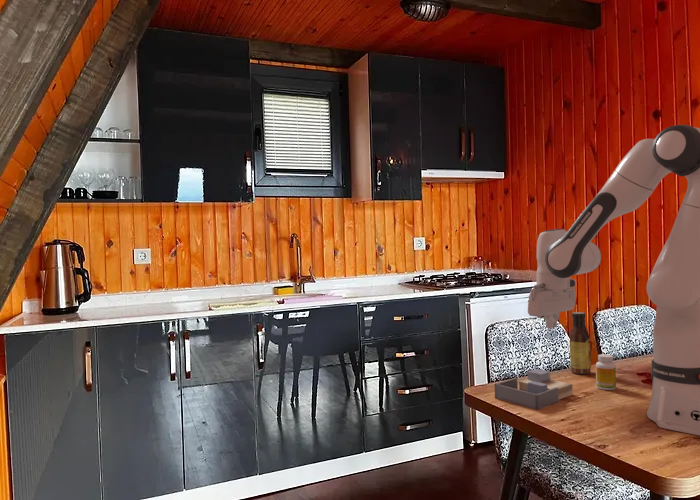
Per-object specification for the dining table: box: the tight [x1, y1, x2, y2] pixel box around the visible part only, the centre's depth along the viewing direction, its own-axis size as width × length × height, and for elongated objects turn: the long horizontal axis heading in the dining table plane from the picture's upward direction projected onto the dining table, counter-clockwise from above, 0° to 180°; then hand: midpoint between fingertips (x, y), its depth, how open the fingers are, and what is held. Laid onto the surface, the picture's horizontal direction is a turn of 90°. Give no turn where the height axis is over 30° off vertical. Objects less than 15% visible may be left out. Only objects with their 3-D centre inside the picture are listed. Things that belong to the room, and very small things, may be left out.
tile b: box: [527, 368, 551, 383], centre depth 160 cm, size 4×4×2 cm
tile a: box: [528, 381, 547, 394], centre depth 150 cm, size 4×4×2 cm
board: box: [518, 378, 574, 401], centre depth 157 cm, size 12×8×3 cm
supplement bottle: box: [595, 353, 617, 391], centre depth 160 cm, size 5×5×10 cm
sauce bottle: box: [569, 311, 592, 375], centre depth 177 cm, size 7×6×20 cm
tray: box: [494, 377, 559, 411], centre depth 152 cm, size 14×10×4 cm
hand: (551, 327), depth 163 cm, fingers closed
